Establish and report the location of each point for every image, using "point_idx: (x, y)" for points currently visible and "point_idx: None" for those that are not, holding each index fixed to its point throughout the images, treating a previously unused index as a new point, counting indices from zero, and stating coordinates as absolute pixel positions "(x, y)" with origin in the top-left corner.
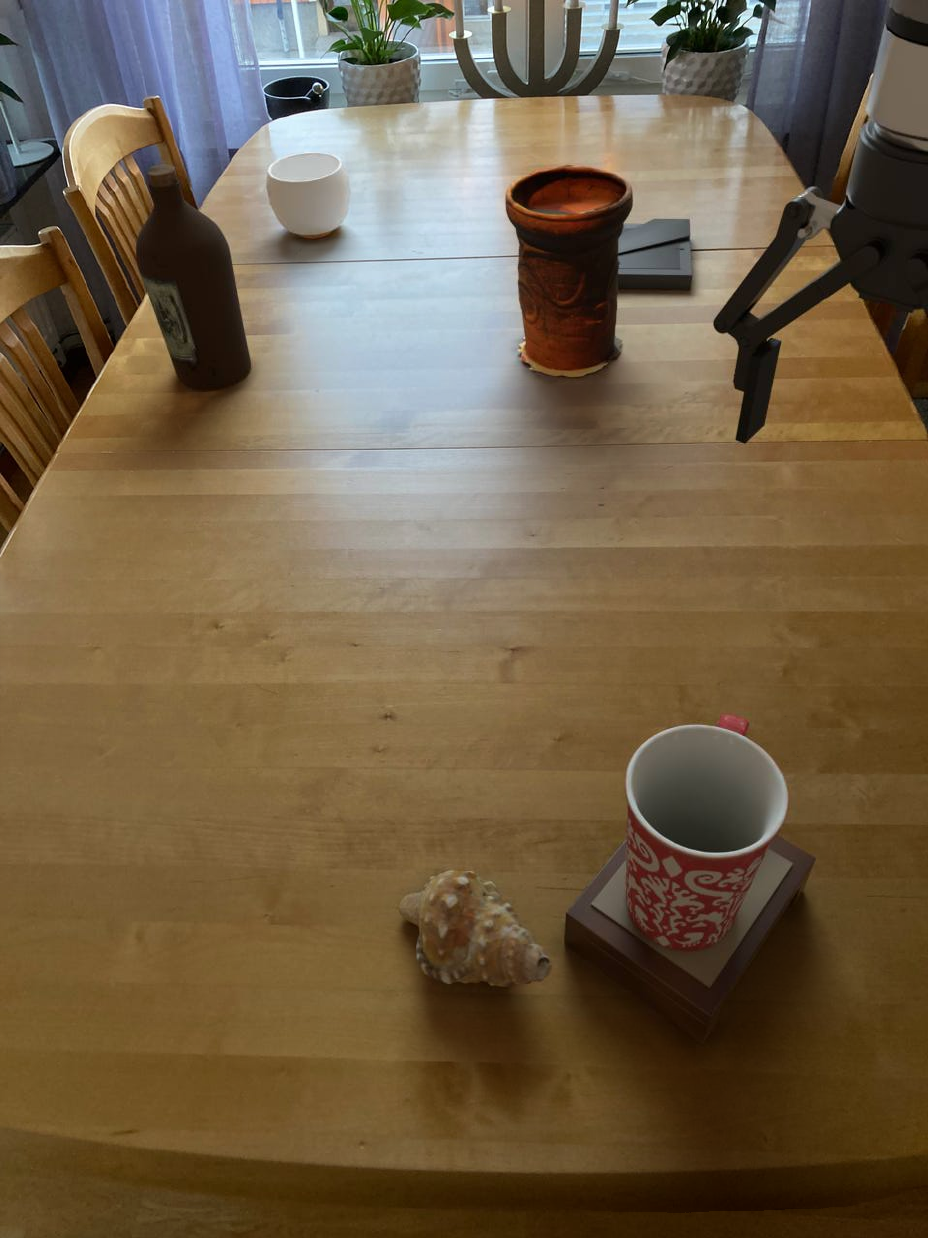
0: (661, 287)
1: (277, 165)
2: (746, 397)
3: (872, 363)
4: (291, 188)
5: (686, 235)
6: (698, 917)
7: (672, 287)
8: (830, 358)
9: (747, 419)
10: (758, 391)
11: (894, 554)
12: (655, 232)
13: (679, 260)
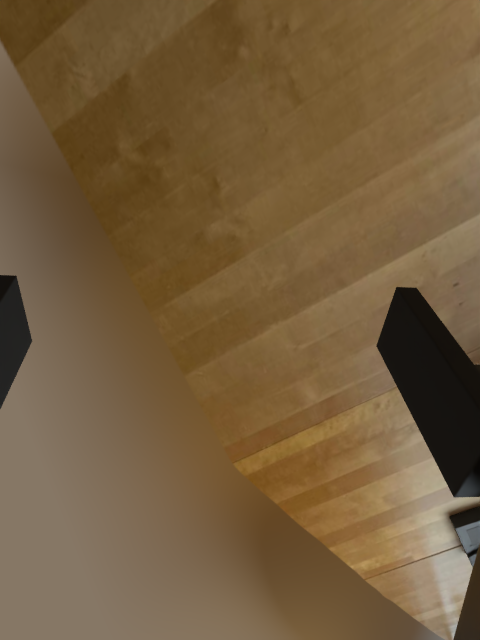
0: (473, 510)
1: None
2: (455, 350)
3: (293, 509)
4: None
5: (471, 556)
6: None
7: (464, 513)
8: (323, 501)
9: (422, 318)
10: (438, 372)
11: (195, 358)
12: None
13: (469, 536)
